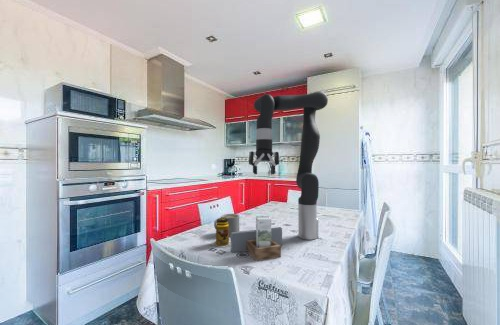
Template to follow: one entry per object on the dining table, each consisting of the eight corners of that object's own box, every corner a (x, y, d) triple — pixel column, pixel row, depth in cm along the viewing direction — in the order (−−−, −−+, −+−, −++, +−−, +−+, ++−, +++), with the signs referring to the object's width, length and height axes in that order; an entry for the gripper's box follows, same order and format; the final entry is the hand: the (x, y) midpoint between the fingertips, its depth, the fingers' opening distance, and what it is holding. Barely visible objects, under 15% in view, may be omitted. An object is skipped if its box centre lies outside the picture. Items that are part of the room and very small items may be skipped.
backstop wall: (280, 244, 106) (280, 227, 106) (282, 245, 104) (282, 228, 104) (230, 250, 98) (230, 232, 98) (232, 252, 96) (232, 233, 96)
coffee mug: (241, 232, 125) (241, 214, 125) (236, 237, 115) (236, 218, 115) (218, 230, 128) (218, 213, 128) (211, 236, 118) (211, 217, 118)
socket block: (269, 247, 102) (269, 237, 102) (280, 256, 92) (280, 245, 92) (246, 250, 98) (246, 240, 98) (255, 260, 88) (255, 249, 88)
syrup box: (268, 248, 98) (268, 215, 98) (271, 253, 92) (271, 218, 92) (255, 249, 97) (255, 215, 98) (257, 254, 92) (257, 218, 92)
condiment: (223, 247, 102) (223, 221, 102) (209, 244, 106) (209, 219, 106) (232, 242, 108) (232, 217, 108) (218, 239, 112) (218, 215, 112)
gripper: (252, 137, 98) (252, 174, 98) (281, 138, 103) (281, 174, 103) (246, 139, 105) (246, 174, 105) (274, 140, 110) (274, 173, 110)
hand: (264, 174), depth 104 cm, fingers open, 8 cm apart
